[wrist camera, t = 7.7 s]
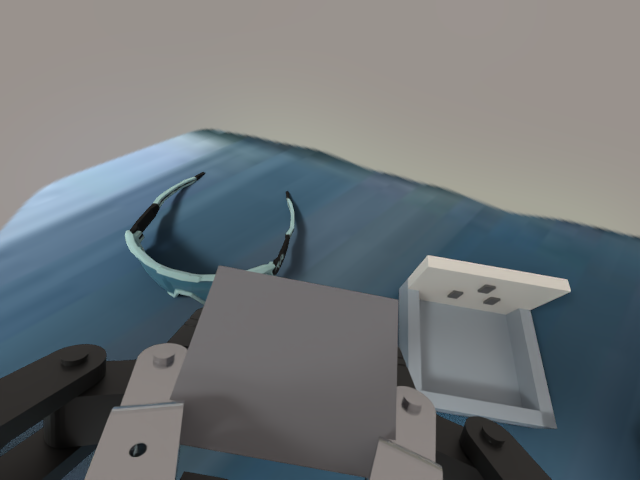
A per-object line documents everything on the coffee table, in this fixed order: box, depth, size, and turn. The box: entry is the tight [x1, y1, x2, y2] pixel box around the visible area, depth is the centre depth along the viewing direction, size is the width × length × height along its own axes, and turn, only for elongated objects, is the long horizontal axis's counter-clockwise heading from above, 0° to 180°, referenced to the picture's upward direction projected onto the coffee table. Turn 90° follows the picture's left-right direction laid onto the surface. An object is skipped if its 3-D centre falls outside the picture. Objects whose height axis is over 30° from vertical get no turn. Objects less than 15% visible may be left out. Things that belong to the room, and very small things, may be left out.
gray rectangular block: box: [170, 266, 398, 478], centre depth 11 cm, size 5×4×9 cm
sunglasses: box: [125, 172, 294, 305], centre depth 30 cm, size 14×15×5 cm
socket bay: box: [399, 255, 571, 429], centre depth 24 cm, size 11×10×7 cm
